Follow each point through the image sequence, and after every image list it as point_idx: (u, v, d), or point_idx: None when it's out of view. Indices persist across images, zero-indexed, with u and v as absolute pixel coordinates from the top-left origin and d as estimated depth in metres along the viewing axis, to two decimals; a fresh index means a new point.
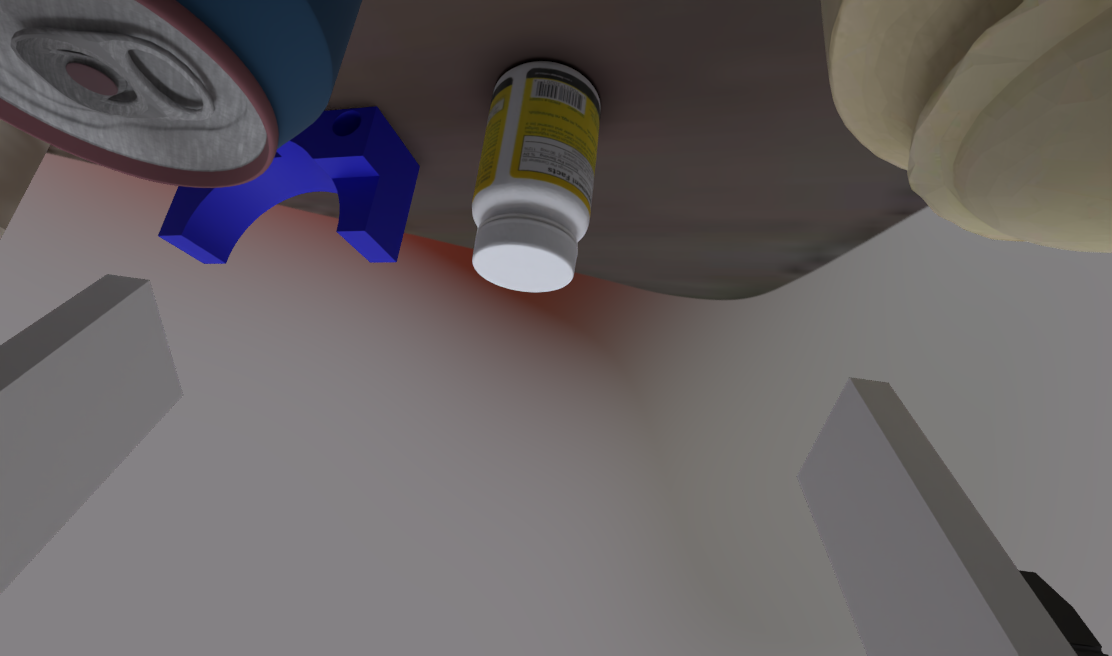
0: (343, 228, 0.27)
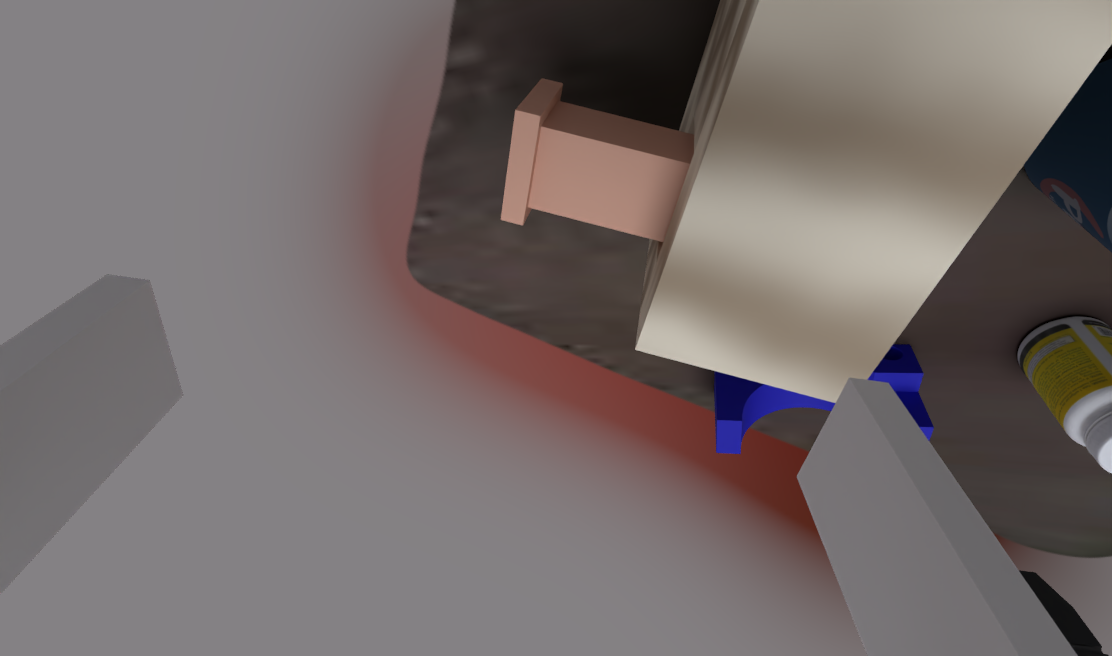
0: None
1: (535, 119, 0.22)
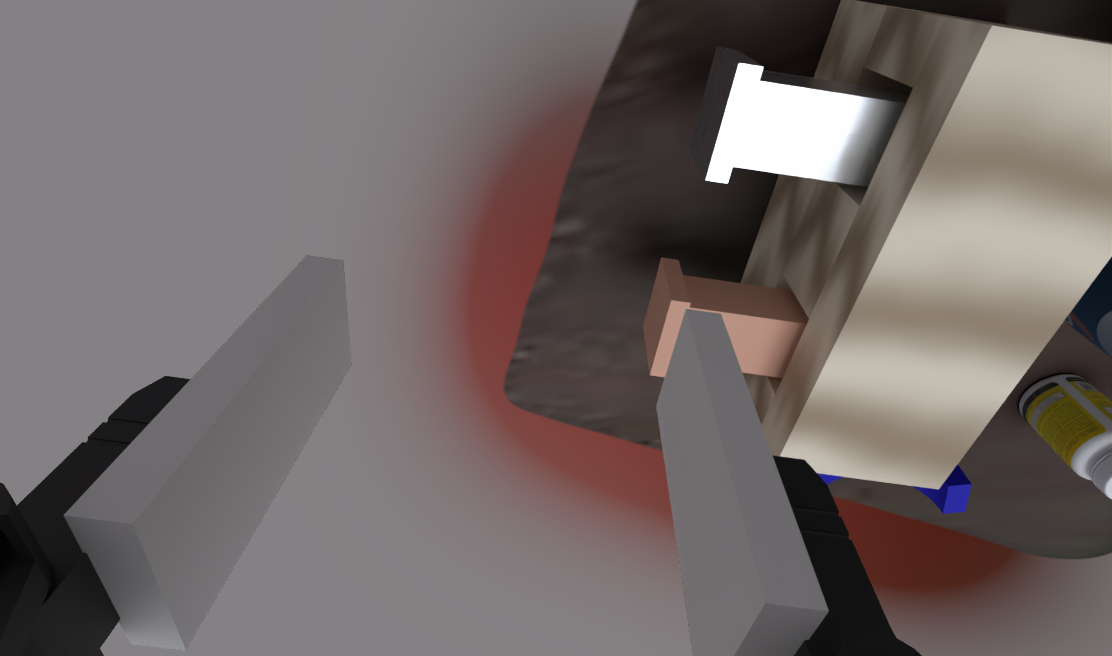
0: (952, 484, 0.41)
1: (686, 305, 0.29)
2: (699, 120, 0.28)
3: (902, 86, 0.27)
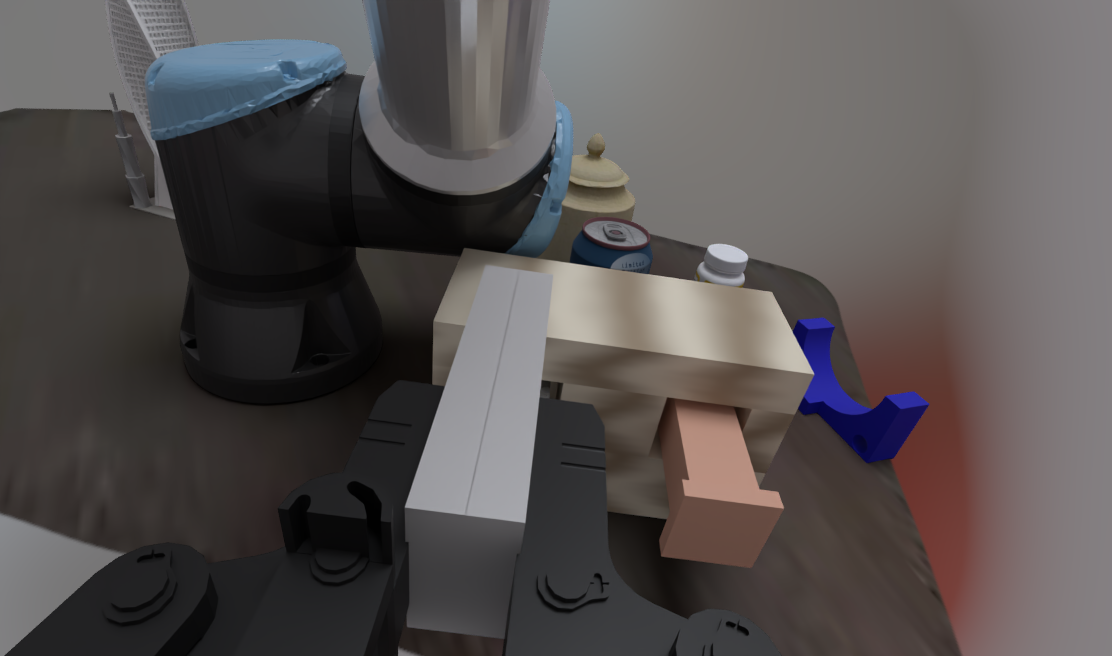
0: (805, 329, 0.51)
1: (686, 482, 0.28)
2: None
3: None
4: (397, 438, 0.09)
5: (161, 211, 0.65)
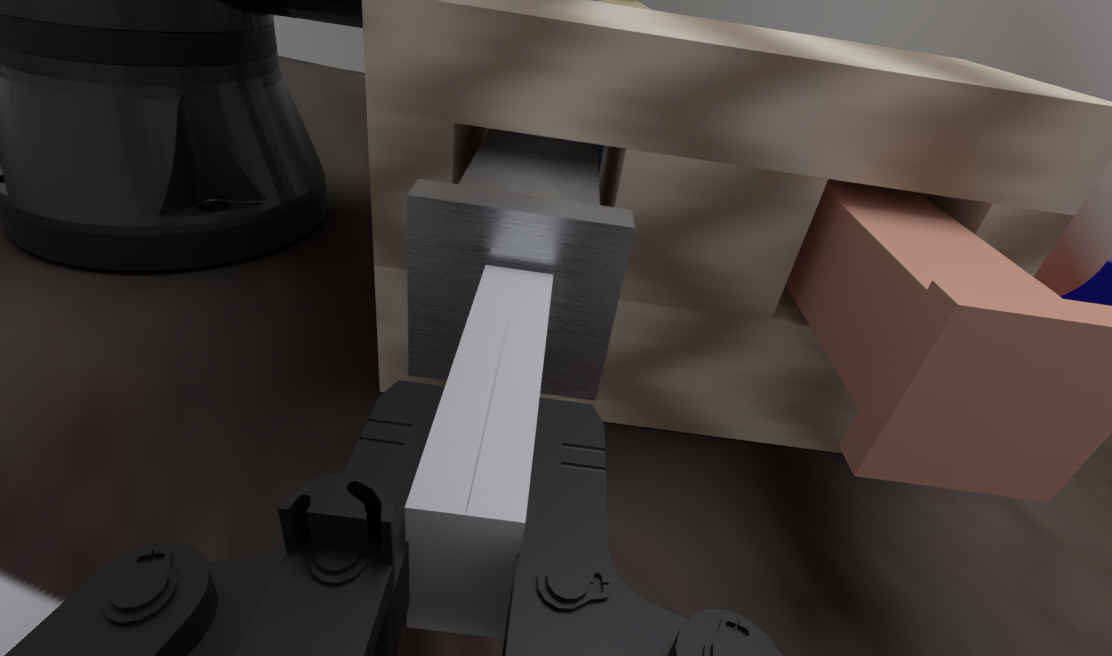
0: None
1: (944, 285, 0.12)
2: None
3: None
4: (397, 438, 0.09)
5: None
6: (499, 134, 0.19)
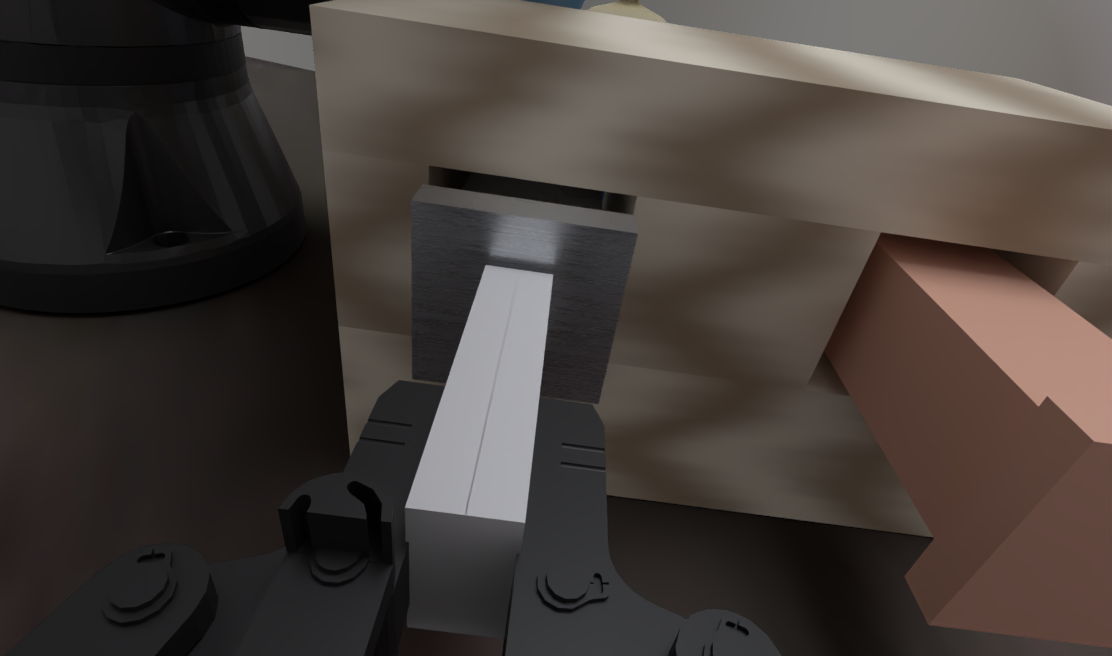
0: None
1: (1065, 404, 0.09)
2: None
3: None
4: (397, 438, 0.09)
5: None
6: None
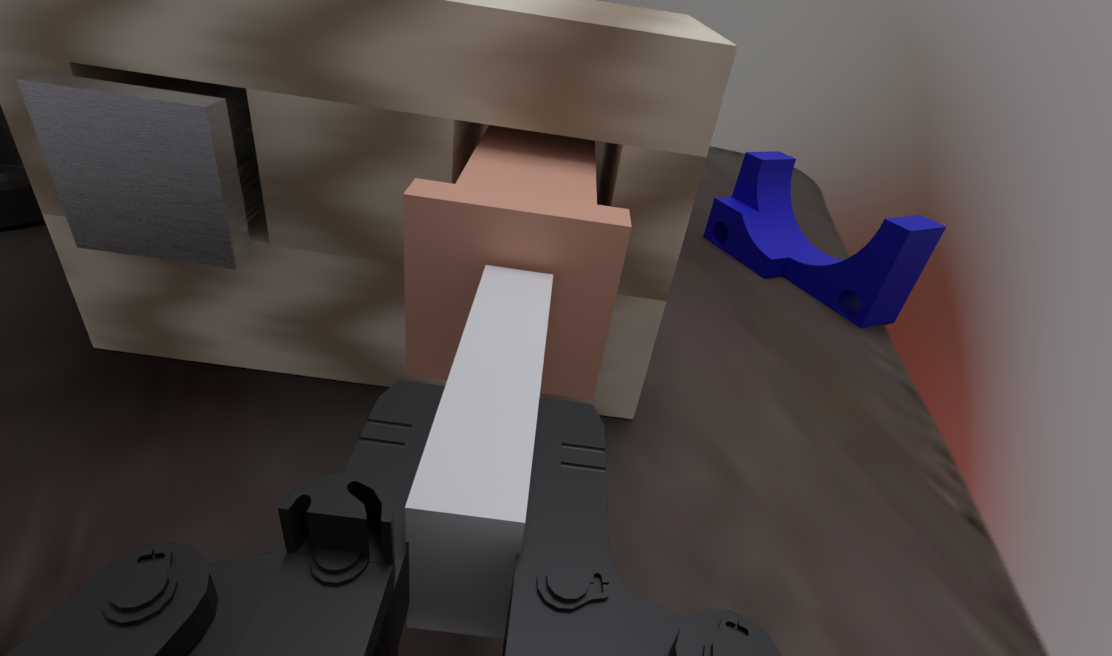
0: (758, 161, 0.36)
1: (421, 181, 0.13)
2: (180, 245, 0.17)
3: None
4: (397, 438, 0.09)
5: None
6: None
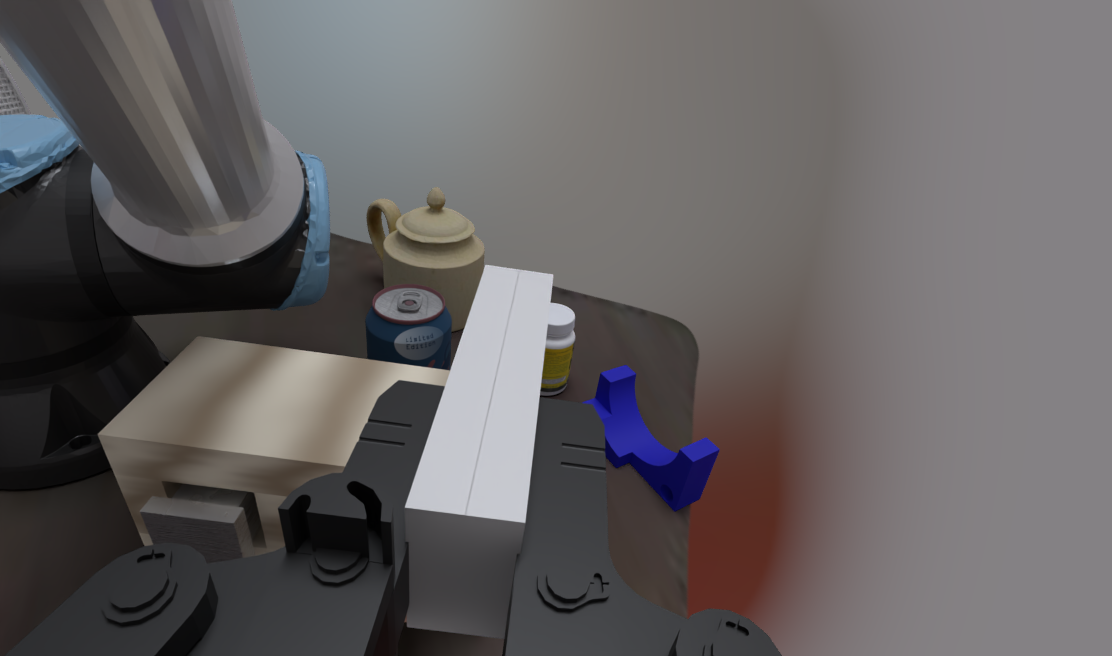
0: (608, 381, 0.52)
1: None
2: None
3: None
4: (397, 438, 0.09)
5: None
6: None
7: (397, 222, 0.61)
